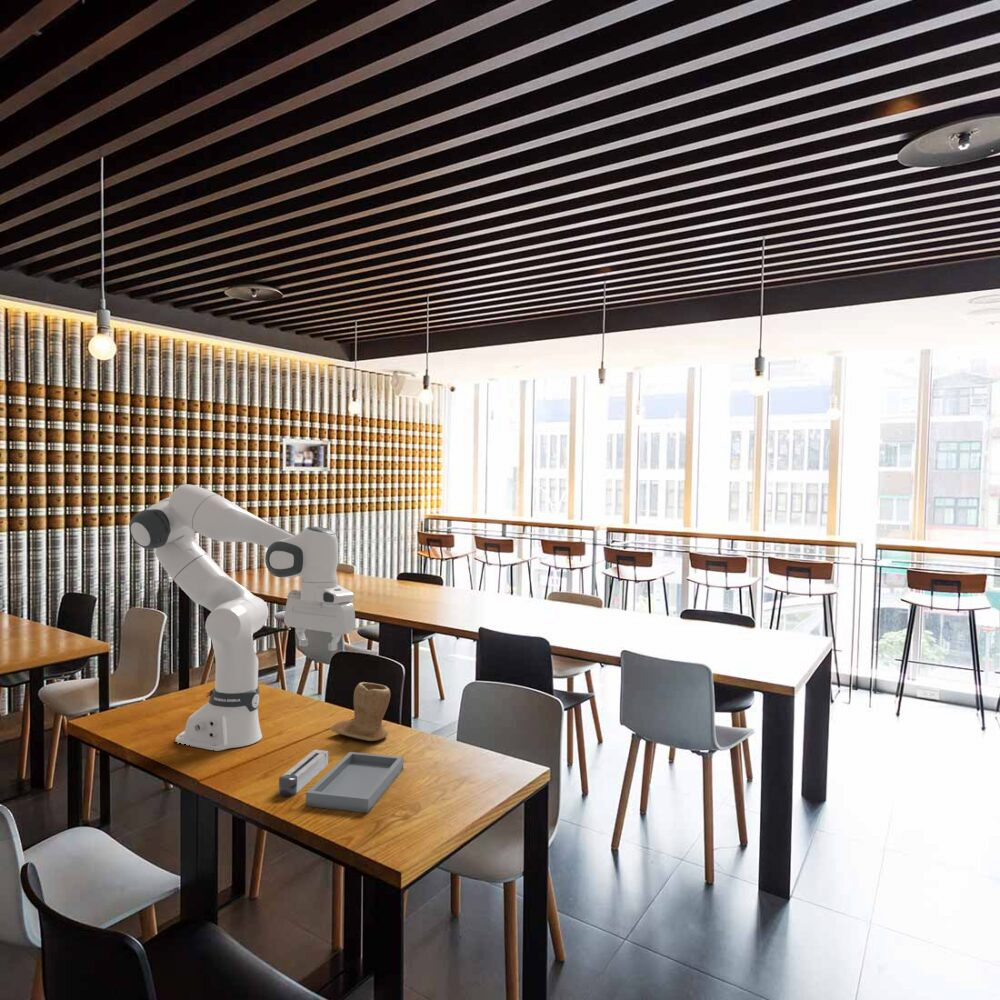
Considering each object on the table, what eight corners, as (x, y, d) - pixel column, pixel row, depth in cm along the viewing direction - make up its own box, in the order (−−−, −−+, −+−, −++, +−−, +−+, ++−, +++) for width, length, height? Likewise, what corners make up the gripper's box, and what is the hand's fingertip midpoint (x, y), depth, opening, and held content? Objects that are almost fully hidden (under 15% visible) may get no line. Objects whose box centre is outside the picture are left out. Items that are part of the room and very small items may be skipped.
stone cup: (397, 735, 199) (399, 683, 199) (371, 747, 188) (373, 692, 188) (357, 725, 206) (358, 675, 206) (329, 736, 196) (331, 684, 196)
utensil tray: (305, 806, 152) (306, 792, 152) (349, 763, 177) (349, 751, 177) (368, 813, 149) (368, 799, 149) (403, 768, 174) (403, 757, 174)
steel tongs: (275, 796, 156) (275, 780, 156) (313, 763, 176) (313, 749, 176) (291, 797, 156) (292, 782, 156) (328, 764, 175) (328, 751, 175)
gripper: (278, 590, 173) (277, 645, 173) (342, 597, 164) (340, 655, 164) (297, 587, 179) (295, 641, 179) (359, 594, 169) (358, 650, 169)
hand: (317, 648), depth 171 cm, fingers open, 8 cm apart
